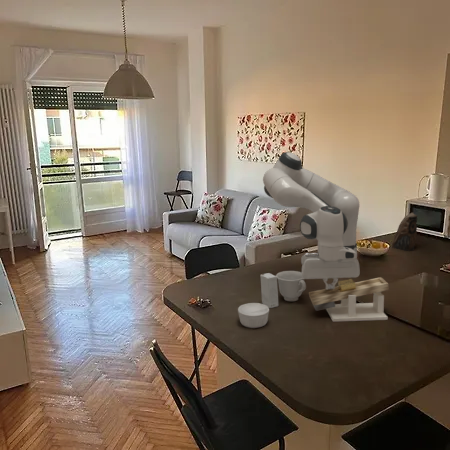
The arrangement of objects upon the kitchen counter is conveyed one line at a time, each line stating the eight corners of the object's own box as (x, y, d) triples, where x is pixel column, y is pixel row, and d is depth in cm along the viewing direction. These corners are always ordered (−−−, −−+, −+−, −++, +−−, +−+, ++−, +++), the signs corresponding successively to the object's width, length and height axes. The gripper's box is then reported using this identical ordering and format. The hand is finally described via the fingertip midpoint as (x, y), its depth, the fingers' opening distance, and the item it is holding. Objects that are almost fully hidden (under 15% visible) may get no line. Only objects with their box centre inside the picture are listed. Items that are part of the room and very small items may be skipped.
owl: (410, 245, 240) (411, 211, 236) (424, 250, 228) (426, 214, 224) (390, 247, 238) (392, 213, 234) (404, 252, 226) (406, 216, 222)
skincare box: (278, 306, 159) (278, 276, 157) (269, 308, 157) (268, 278, 155) (270, 301, 165) (269, 272, 162) (260, 303, 163) (260, 274, 160)
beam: (315, 312, 146) (312, 299, 145) (310, 303, 154) (308, 291, 153) (390, 296, 144) (388, 283, 143) (382, 288, 152) (380, 276, 151)
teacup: (292, 309, 156) (292, 284, 154) (270, 297, 169) (269, 274, 167) (317, 302, 161) (317, 278, 159) (294, 291, 174) (294, 268, 172)
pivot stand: (332, 321, 144) (333, 297, 142) (324, 307, 156) (324, 285, 155) (387, 319, 143) (388, 295, 142) (374, 305, 156) (375, 283, 154)
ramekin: (260, 332, 138) (260, 317, 137) (232, 325, 144) (231, 311, 143) (274, 319, 147) (274, 305, 146) (247, 314, 153) (247, 300, 152)
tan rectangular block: (342, 294, 146) (340, 285, 146) (339, 290, 150) (337, 281, 150) (356, 291, 146) (354, 282, 145) (352, 287, 150) (351, 278, 149)
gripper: (302, 255, 143) (302, 293, 145) (361, 253, 142) (360, 291, 145) (299, 251, 149) (299, 287, 152) (356, 249, 148) (355, 285, 151)
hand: (330, 289), depth 148 cm, fingers closed
